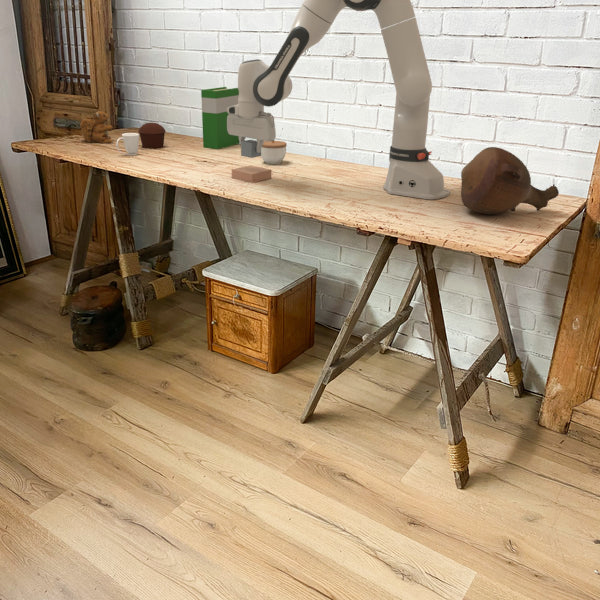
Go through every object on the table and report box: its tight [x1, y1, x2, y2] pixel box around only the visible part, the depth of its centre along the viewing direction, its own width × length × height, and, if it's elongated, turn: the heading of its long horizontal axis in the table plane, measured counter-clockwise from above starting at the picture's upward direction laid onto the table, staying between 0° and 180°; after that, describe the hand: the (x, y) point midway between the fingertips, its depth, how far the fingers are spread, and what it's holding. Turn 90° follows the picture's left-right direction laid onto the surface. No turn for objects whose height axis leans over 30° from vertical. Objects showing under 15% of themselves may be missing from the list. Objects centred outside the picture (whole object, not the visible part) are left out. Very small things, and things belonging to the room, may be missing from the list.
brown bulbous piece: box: [460, 146, 560, 215], centre depth 185 cm, size 20×20×30 cm
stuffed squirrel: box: [79, 110, 114, 144], centre depth 275 cm, size 10×14×13 cm
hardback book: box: [200, 86, 241, 150], centre depth 272 cm, size 18×7×24 cm, turn 152°
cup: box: [115, 132, 140, 156], centre depth 252 cm, size 7×10×8 cm
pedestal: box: [231, 165, 272, 184], centre depth 221 cm, size 10×10×3 cm
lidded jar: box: [260, 140, 287, 165], centre depth 245 cm, size 11×11×9 cm
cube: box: [240, 139, 261, 159], centre depth 218 cm, size 5×5×5 cm
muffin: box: [137, 122, 167, 150], centre depth 268 cm, size 12×11×10 cm
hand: (251, 150), depth 218 cm, fingers closed on cube, 5 cm apart
